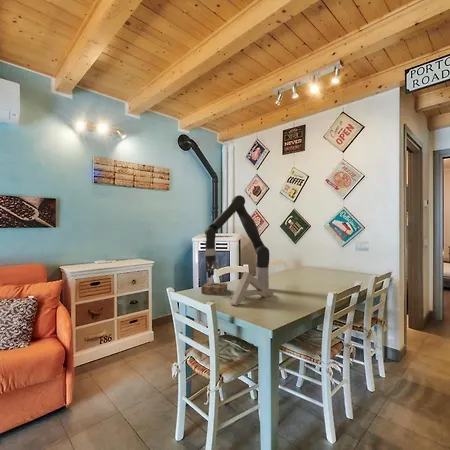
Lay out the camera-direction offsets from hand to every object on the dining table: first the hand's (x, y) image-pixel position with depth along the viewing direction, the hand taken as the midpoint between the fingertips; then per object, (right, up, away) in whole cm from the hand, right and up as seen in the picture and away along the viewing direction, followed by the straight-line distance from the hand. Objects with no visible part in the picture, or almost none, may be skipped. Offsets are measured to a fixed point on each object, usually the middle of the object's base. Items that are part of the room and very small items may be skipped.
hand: (210, 276), depth 203 cm
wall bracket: (+29, -12, -21) cm, 38 cm away
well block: (+3, -11, 0) cm, 12 cm away
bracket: (+3, -9, 0) cm, 10 cm away
